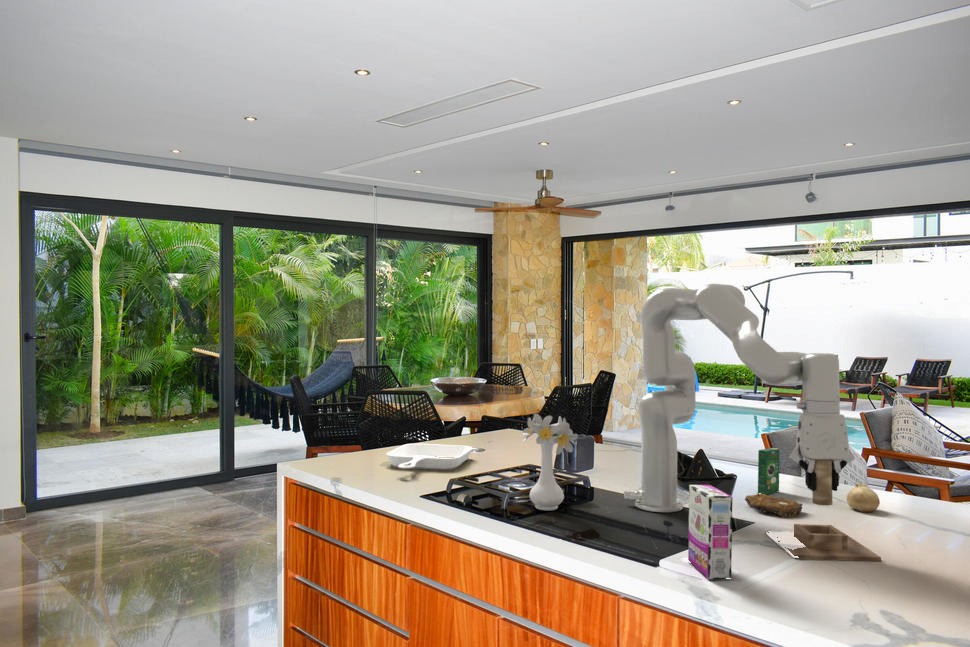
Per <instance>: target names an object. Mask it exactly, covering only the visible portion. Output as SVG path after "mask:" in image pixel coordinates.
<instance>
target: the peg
mask: <svg viewBox="0 0 970 647" xmlns="http://www.w3.org/2000/svg"><path fill="white" fill-rule="evenodd" d="M813 470H814V473H815V474H816V490H815V491H812V504H815V505H818V506H831V505H833V490H832V460H815V464H814V469H813Z"/></svg>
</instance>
